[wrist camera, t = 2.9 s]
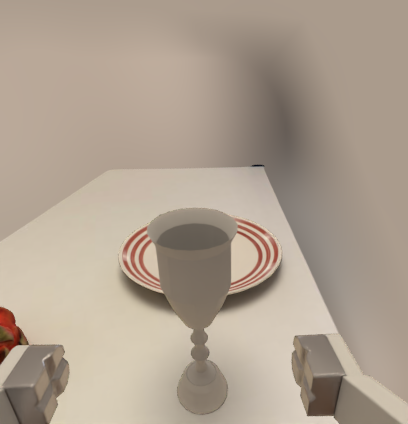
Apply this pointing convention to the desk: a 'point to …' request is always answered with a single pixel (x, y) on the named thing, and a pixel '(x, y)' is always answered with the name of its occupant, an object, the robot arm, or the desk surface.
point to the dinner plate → (240, 257)
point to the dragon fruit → (9, 333)
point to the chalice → (196, 290)
